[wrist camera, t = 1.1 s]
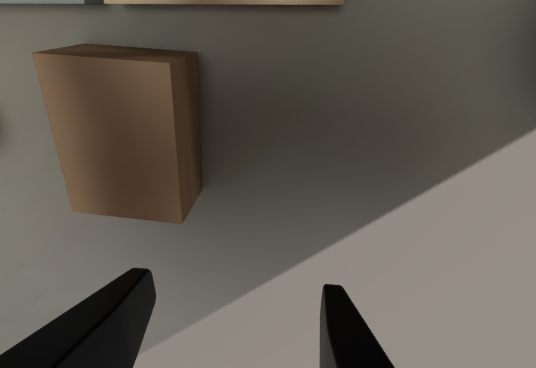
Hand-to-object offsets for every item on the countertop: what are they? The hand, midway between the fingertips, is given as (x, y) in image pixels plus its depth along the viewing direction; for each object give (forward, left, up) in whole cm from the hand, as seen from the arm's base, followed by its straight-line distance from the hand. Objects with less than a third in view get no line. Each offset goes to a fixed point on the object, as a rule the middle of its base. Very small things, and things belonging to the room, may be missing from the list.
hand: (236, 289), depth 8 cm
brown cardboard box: (+8, 0, -12) cm, 14 cm away
